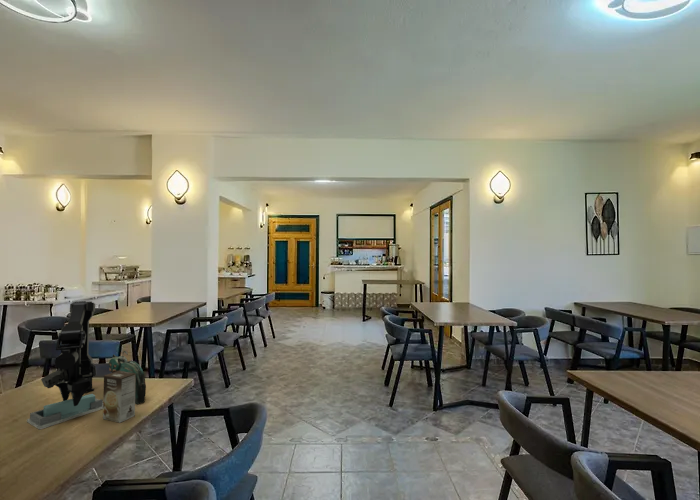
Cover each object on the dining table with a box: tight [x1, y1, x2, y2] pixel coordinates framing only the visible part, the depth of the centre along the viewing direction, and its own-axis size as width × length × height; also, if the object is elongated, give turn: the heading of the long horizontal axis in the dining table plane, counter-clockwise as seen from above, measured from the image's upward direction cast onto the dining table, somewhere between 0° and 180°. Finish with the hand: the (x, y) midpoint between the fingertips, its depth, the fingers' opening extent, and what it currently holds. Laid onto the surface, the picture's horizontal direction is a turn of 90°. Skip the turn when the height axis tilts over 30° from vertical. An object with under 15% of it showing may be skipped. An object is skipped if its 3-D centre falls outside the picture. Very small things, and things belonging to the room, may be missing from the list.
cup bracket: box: [26, 397, 103, 430], centre depth 134 cm, size 22×11×3 cm, turn 149°
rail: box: [42, 393, 96, 417], centre depth 134 cm, size 15×4×4 cm, turn 141°
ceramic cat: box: [108, 350, 147, 405], centre depth 149 cm, size 20×6×20 cm, turn 63°
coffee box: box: [102, 371, 136, 424], centre depth 132 cm, size 9×6×16 cm
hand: (70, 403), depth 135 cm, fingers open, 8 cm apart
